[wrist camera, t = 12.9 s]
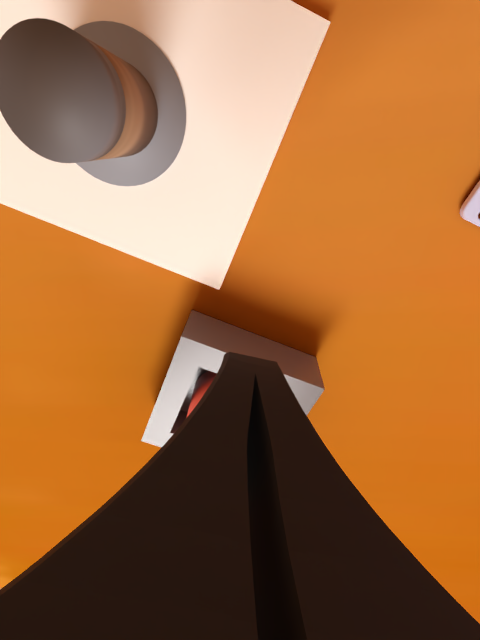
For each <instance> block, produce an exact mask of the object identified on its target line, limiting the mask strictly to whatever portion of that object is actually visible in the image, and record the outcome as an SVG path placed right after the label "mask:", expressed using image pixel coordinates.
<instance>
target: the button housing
mask: <svg viewBox="0 0 480 640" xmlns="http://www.w3.org/2000/svg"><path fill="white" fill-rule="evenodd" d="M228 352H233V353H238V354H243V355H247V356H252V357H257V358H261V359H266V360H271V361H275V362H277V363H278V365H279V367H280V369H281V370H282V372H283V374H284V376H285V378H286V380H287V382H288V384H289V386H290V387H291V389H292V391H293V393H294V395H295V397H296V398H297V400H298V402H299V404H300V406H301V407H302V409H303V411H304V412H305V414H306V416H307V414H308V413H309V411H310V410H311V408H312V407H313V405H314V404H315V403H316V401H317V400H318V398H319V397H320V395H321V394H322V392H323V391H324V385H323V381H322V377H321V374H320V370H319V366H318V362H317V359H316V357H314V356H312V355H309V354H306V353H304V352H301V351H299V350H296V349H293V348H291V347H288V346H285V345H283V344H280V343H278V342H275V341H272V340H270V339H267V338H265V337H262V336H259V335H257V334H254V333H251V332H249V331H246V330H244V329H241V328H238V327H236V326H233V325H231V324H228V323H225V322H223V321H220V320H217V319H215V318H212V317H210V316H207V315H204V314H202V313H199V312H197V311H194V310H191V313H190V315H189V318H188V321H187V323H186V326H185V328H184V331H183V333H182V336H181V338H180V341H179V344H178V346H177V349H176V351H175V354H174V357H173V359H172V362H171V364H170V367H169V370H168V372H167V375H166V377H165V380H164V383H163V385H162V388H161V390H160V393H159V396H158V398H157V401H156V404H155V406H154V409H153V411H152V414H151V417H150V419H149V422H148V424H147V427H146V430H145V432H144V435H143V437H142V440H141V441H143V442H146V443H149V444H152V445H156V446H159V447H163V445H164V444H165V443H166V442H167V441H168V440H169V439H170V438H171V436H172V435H173V434H174V433H175V432H176V431H177V429H178V428H179V427H180V426H181V424H182V423H183V422H184V421H185V419H186V418H187V413H188V410H189V406H190V402H191V398H192V394H193V390H194V387H195V384H196V382H197V380H198V379H199V377H200V376H201V375H202V374H204V373H205V372H207V371H212V372H214V373H217V372H218V370H219V368H220V366H221V364H222V361H223V357H224V354H226V353H228Z"/></svg>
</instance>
